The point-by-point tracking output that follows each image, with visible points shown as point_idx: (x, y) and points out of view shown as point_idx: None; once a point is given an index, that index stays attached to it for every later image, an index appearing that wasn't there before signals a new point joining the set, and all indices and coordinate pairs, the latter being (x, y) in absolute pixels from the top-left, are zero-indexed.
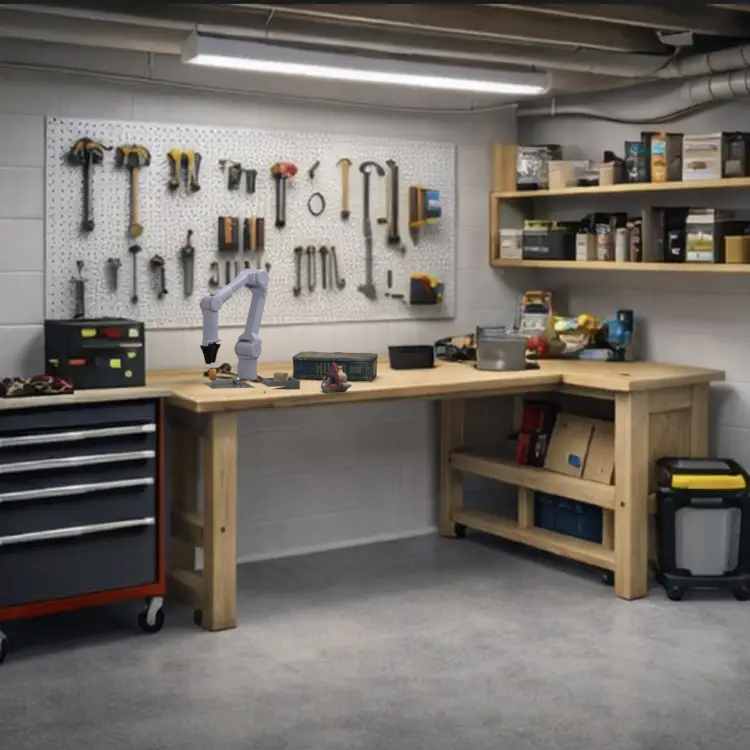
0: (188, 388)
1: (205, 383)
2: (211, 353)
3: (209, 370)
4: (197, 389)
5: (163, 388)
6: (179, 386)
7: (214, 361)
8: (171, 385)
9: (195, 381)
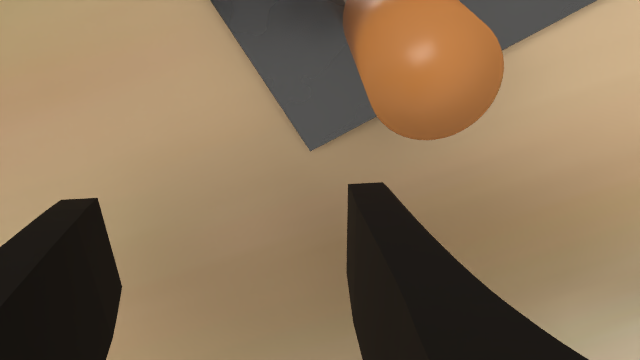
0: (557, 184)
1: None
2: (545, 348)
3: (464, 115)
4: (633, 80)
5: (574, 341)
6: None
7: (87, 217)
8: None
9: None
